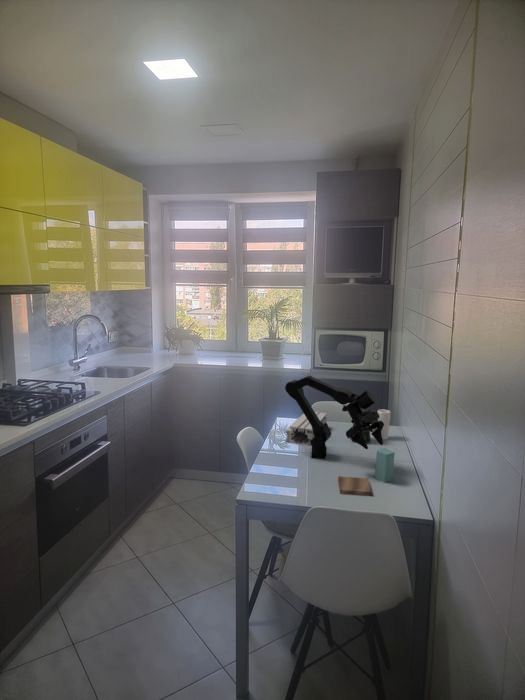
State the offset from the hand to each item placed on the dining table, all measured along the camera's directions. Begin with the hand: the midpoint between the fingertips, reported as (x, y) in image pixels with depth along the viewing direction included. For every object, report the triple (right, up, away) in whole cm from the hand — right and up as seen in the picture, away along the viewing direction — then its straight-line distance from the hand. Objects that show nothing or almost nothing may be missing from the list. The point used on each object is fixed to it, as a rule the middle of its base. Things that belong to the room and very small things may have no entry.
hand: (374, 446), depth 182 cm
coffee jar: (+3, -6, +41) cm, 41 cm away
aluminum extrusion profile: (-24, -5, +48) cm, 54 cm away
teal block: (+3, -13, -3) cm, 13 cm away
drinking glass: (+16, -6, +45) cm, 48 cm away
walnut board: (-11, -14, -11) cm, 21 cm away
